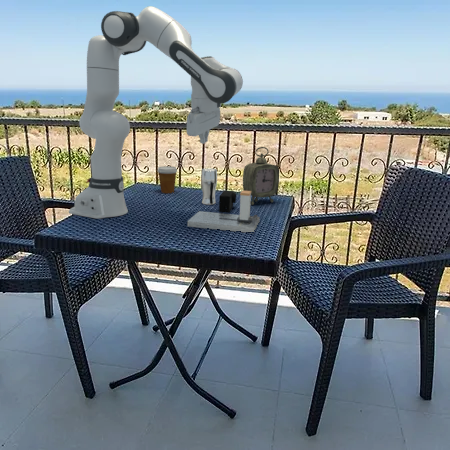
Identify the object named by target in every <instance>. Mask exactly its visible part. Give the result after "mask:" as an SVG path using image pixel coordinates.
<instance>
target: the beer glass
mask: <svg viewBox="0 0 450 450" xmlns="http://www.w3.org/2000/svg"><path fill="white" fill-rule="evenodd" d="M200 177H201V178H200V181H201V190H202V200H201V204H203V205H206V206H211V205H215V204H216V203H217V202H216V189H217V185H218V169H216V168H202V169H201V176H200Z"/></svg>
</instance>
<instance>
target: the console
mask: <svg viewBox="0 0 450 450" xmlns="http://www.w3.org/2000/svg"><path fill="white" fill-rule="evenodd" d="M239 216H240V214H232V213H224V212H212V211H201V210H199V211H198V212H196V213H195V214H194V215H193V216H191V218H189V219H188V220H187V227H190V228H198V229H207V228H209V229H208V230H217V229H220V230H219V231H226V230H230V231H229V232H236V231H241V232H240V233H246V232H255V231H256V229H257V228H258V226H259V224H258V223H260V216H258V214H254V215H253V216H252V215H250V217H251V218H252V220H251V222H246V221H237V218H238V217H239ZM257 225H258V226H257ZM254 230H255V231H254Z"/></svg>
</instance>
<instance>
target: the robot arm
mask: <svg viewBox="0 0 450 450" xmlns="http://www.w3.org/2000/svg"><path fill="white" fill-rule="evenodd" d="M100 28H101V29H100V30H101V33H102V35H99V34H98V35H95V36H92V37H91V38H90V39H89V41H88V46H87V52H86V95H85V96H86V97H85V103H84V107H83V113H82V114H81V116H80V118H79V128H80V129H81V131H82V132H83V134H85V135H86V136H88V137H89V138H91V139H95V143H94V149H93V152H92V154H91V155H90V166H91V177H89V178H88V179H86V181H85V183H88V186H87V187H86V188H85V189H84V190H82V191H81V192H80V193H79V194H77V195H76V197H75V199H74V206H73V207H71V208H70V209H69V210H68V214H69V215H75V216H79V217H87V218H90V219H91V218H92V219H104V218H113V217H119V216H123V215H126V214H127V213H128V212H129V210H128V207H127V204H126V200H125V196H124V195H125V194H124V191H125V189H124V185H125V183H124V177H123V173H122V172H123V171H122V154H123V147H124V144H125V141H126V139H127V137H128V136H129V134H130V131H131V124H130V122H129V120H128V118H127V117H126V116H125V115H123V114H122V113H120V112H118V111H115V110H114V108H115V107H114V106H115V102H116V100H117V98H118V97H119V95H120V57H121V55H123V56H127V55H131V54H135V53H138V52H140V51H141V50H144V48H145V46H146V44H147V42H149V43H150V44H151V45H153V46H154V47H155V48H156V49H158V50H159V51H160V52H161V53H163V54H164V55H166V57H168V58H169V59H171V60H172V61H173V62H174V63H176V64H177V66H179V67H180V68H181V69H182V70H183V71H185V72H186V73H187V74H188V75H189V76H190V87H191V94H190V99H191V100H190V102H191V103H190V104H191V109H190V112H189V113H188V115H187V118H186V134H187V136H189V137H197V136H198V138H199V143H200V144H206V143H207V142H208V139H209V134H210V130H212V129H214V128H216V127H218V126H219V125H220V121H221V107H222V104H226V103H227V102H230V101H231V100H232V98H233V97H235V96H236V95H237V94H238V93H239V92H240V91H241V89H242V87H243V82H244V81H243V75H242V74H241V72H240V71H239V70H238V69H236V68H233V67H230V66H227V65H225V64H223V63H221V62H220V61H218V60H217V59H216V58H215V57H213V56H209V55H208V56H207V55H206V56H203V57H201V56H200V55H198V54H197V53H196V52H195V51H194V49H193V47H192V44H193V43H192V41H193V40H192V36H191V34H190V33H189V31H188V30H187V29H186V28H185V27H184V26H183V24H181V23H180V22H178V21H177V20H176V19H175V18H174V17H172V16H170V15H169V14H167V12H165V11H163V10H161V9H160V8H157V7H156V6H151V5H149V6H146V7H144V8H143V9H142V10H141V11H140V12H139V14H138V15H137V16H136V15H135V14H134V12H128V11H119V10H114V11H110V12H107V13H106V14H104V16H103V17H102V19H101V23H100Z"/></svg>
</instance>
